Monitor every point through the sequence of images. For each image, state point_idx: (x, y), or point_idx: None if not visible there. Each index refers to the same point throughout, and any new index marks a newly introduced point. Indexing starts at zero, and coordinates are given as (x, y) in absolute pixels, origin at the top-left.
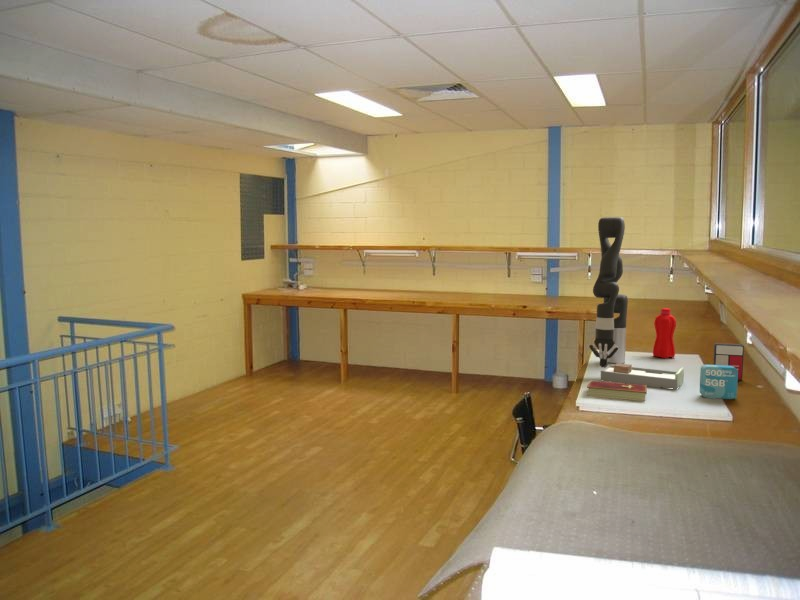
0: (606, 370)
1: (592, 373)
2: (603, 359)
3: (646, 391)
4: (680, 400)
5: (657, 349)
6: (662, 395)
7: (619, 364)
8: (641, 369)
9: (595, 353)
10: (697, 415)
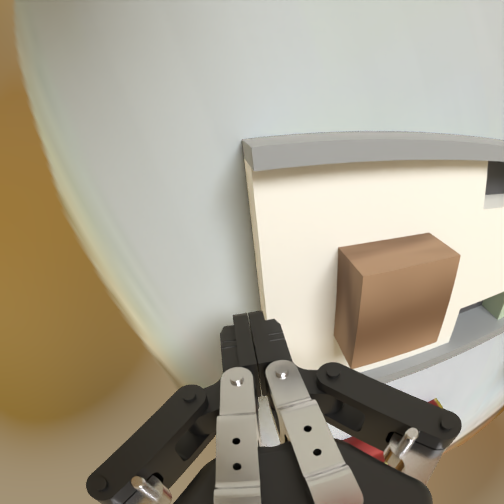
0: (274, 317)
1: (132, 235)
2: (265, 393)
3: (439, 405)
4: (488, 380)
5: None
6: (468, 377)
7: (385, 314)
8: (476, 158)
9: (187, 447)
10: (476, 422)
